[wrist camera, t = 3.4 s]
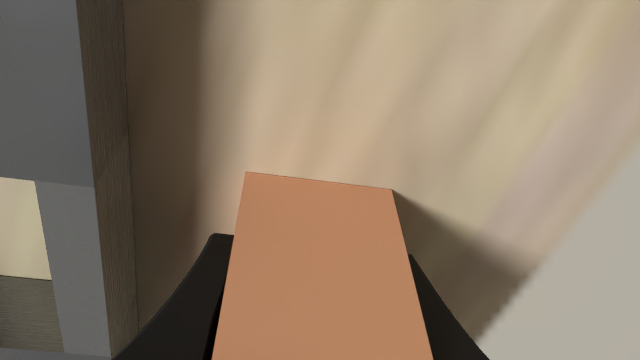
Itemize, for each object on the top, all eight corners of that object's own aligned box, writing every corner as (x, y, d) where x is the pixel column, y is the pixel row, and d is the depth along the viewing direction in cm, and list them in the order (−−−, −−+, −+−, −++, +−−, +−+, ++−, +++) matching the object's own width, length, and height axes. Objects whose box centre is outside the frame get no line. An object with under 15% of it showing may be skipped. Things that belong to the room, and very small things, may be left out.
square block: (361, 291, 16) (386, 493, 11) (235, 279, 16) (202, 482, 11) (391, 189, 14) (439, 382, 9) (245, 171, 14) (210, 364, 9)
